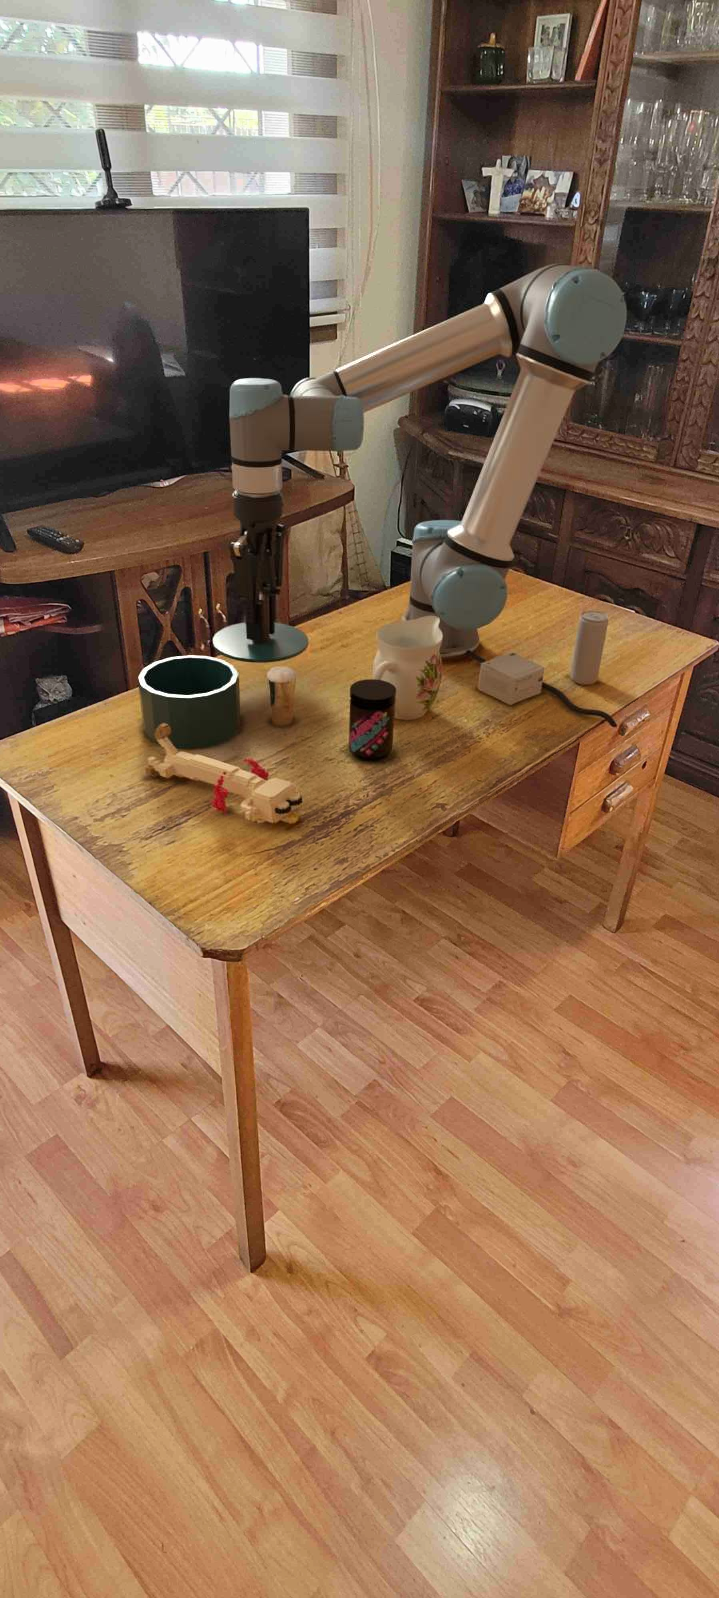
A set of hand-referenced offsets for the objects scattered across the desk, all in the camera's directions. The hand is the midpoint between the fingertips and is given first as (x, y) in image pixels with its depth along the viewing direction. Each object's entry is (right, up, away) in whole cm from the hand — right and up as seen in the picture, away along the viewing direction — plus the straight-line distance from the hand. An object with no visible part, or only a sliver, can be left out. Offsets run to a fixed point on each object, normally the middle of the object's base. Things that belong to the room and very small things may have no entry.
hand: (260, 635), depth 153 cm
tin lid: (0, -1, +1) cm, 1 cm away
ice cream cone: (+4, -15, -6) cm, 17 cm away
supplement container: (+18, -20, -13) cm, 30 cm away
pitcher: (+23, -13, -2) cm, 27 cm away
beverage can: (+56, -6, +10) cm, 57 cm away
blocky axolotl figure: (-2, -27, -25) cm, 37 cm away
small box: (+42, -9, +5) cm, 43 cm away
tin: (-10, -16, -8) cm, 20 cm away
